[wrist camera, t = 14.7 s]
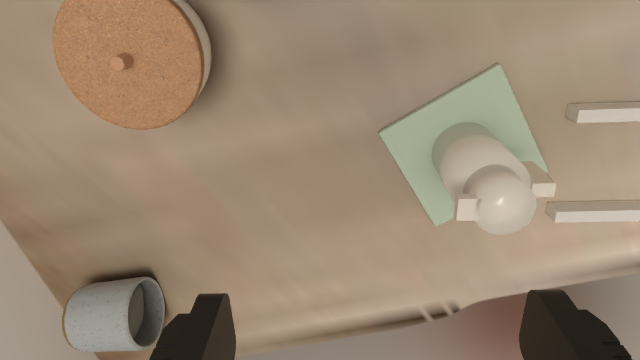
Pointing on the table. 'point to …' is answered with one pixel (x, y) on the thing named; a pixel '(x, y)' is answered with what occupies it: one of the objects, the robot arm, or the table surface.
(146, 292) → the ceramic mug
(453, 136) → the figurine
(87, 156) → the table surface
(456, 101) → the mat
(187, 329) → the robot arm
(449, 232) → the table surface
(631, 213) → the holder
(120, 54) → the lidded jar
